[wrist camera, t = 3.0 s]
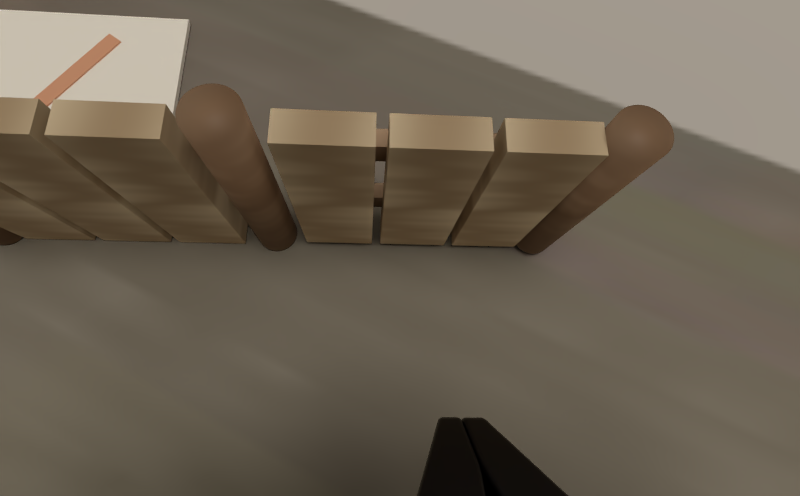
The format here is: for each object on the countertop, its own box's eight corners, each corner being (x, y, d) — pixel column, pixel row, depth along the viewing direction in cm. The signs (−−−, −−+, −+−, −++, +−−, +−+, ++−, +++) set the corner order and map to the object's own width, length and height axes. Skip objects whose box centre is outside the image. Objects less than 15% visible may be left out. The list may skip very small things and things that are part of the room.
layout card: (-189, 180, 19) (-200, 176, 19) (-118, 8, 21) (-127, 1, 21) (163, 190, 20) (159, 186, 19) (190, 24, 22) (187, 18, 22)
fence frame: (-18, 244, 19) (-345, 121, 10) (-5, 201, 19) (-306, 49, 11) (295, 251, 19) (240, 142, 11) (298, 209, 20) (248, 74, 11)
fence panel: (296, 248, 19) (245, 145, 11) (299, 206, 20) (253, 77, 12) (550, 254, 20) (679, 160, 12) (546, 212, 20) (666, 96, 12)
